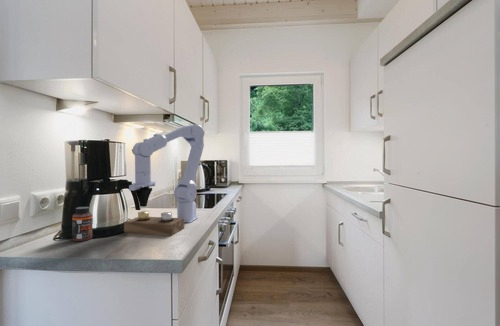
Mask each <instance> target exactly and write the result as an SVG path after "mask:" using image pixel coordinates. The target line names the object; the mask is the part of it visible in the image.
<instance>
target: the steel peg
mask: <svg viewBox="0 0 500 326" xmlns="http://www.w3.org/2000/svg"><path fill="white" fill-rule="evenodd" d="M160 217H161V222H166V223H169V222H171V221H172V218H173V213H172V212H171V211H169V212H168V211H165V212H161V213H160Z"/></svg>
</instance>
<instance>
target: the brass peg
mask: <svg viewBox="0 0 500 326" xmlns="http://www.w3.org/2000/svg"><path fill="white" fill-rule="evenodd" d="M137 217H138V221H148V220H149V217H150V212H149V211H148V210H147V211H146V210H143V211H138V212H137Z"/></svg>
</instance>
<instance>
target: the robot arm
mask: <svg viewBox="0 0 500 326" xmlns="http://www.w3.org/2000/svg"><path fill="white" fill-rule="evenodd" d="M204 137H205V131H204V129H203V127H202V125H200V124H197V123H196V124H191V125H190V124H189V125H184V126H180V127H177V128H176V129H172V131H169V132H167V133H165V134H164V135H162V134H160V133H159V134H158V133H155V134H153V136H152V137H149V138H145V139H143V141H139V142H136V143H135V144H134V145H133V146H132V148H131V152H132V154H133V155H134V179H135V180H134V183H132V184H129V185H128V189H129V190H128V191H133V193H134V194H135V195H136V197H137V200H138V204H139V207H142V208H143V207H147V205H148V203H149V198H150V195H151V194H152V191H153V187H156V181H152V173H151V172H152V171H151V163H152V162H151V156H152V155H153V153H155V152H158V151H159V150H161V149H163V148H165V147H166V146H168V145H167V144H168V143H169V142H171V141H174V140H175V139H178V138H183V139H184V140H185V141H186V143H188V144H189V145H190V147H191V148H190V150H189V154H188V157H187V161H186V165H185V169H184V172H183V176H182V178H181V179H180V180H179V182H178V184H177V186H176V187H175V189H174V191H173V195H174V197H175V198H176V204H177V205H176V213H177V214H176V215H177V216H176V218H184V223H192V222H194V221H196V220H197V219H199V216H197V203H196V202H195V200H196V197H197V194H198V193H197V188H198V185H197V184H196V182H195V180H196V177H197V173H198V169H199V165H200V161H201V157H202V155H203V152H204V151H203V150H204V145H205V143H204Z"/></svg>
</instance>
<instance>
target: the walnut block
mask: <svg viewBox="0 0 500 326" xmlns="http://www.w3.org/2000/svg"><path fill="white" fill-rule="evenodd" d="M183 229H185V222H184V218H177V217H172V221H171V222H169V223H166V222H161V216H160V217H158V216H149V220H148V221H138V216H137V217H134V218H132V219H130V220H125V221H124V222H123V233H125V234H139V235H140V234H141V235H154V236H155V235H157V236H158V235H159V236H174V235H175V234H177V233H179V232H181V231H182V230H183Z"/></svg>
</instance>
